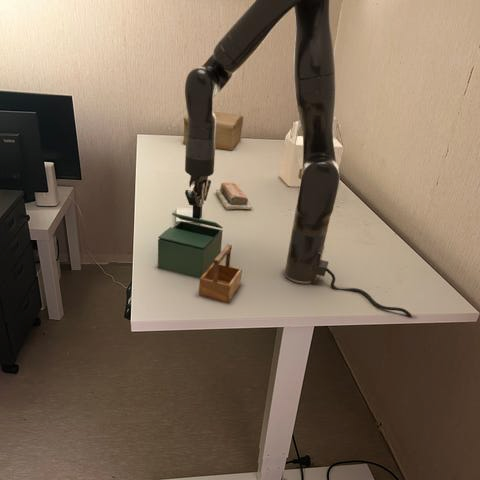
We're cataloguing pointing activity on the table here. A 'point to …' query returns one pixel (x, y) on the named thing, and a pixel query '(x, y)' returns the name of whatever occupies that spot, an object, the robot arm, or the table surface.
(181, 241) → the carton
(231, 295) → the basket
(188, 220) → the flap
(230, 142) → the paper package
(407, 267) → the table surface
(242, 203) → the packaged product
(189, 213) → the hard drive
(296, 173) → the gable box
